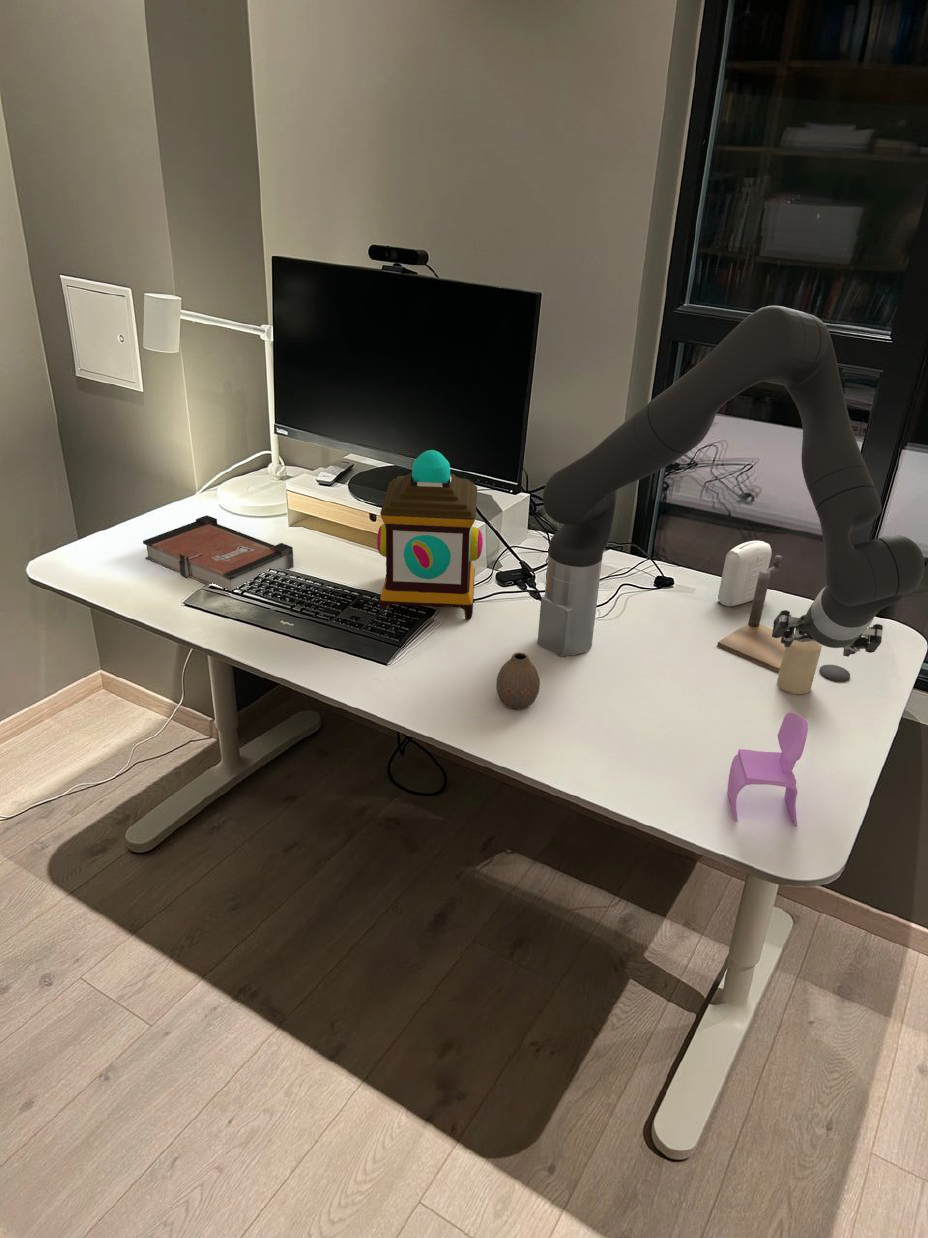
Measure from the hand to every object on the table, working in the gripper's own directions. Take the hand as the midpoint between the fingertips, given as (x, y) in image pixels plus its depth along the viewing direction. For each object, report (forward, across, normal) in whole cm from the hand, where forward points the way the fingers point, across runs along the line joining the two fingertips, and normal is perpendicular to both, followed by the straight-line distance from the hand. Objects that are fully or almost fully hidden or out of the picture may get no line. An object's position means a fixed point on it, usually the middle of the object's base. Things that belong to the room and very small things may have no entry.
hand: (816, 645), depth 136 cm
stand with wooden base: (+27, +4, -7) cm, 28 cm away
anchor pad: (+22, -7, -2) cm, 23 cm away
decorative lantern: (+25, +68, -5) cm, 73 cm away
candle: (+18, 0, +2) cm, 18 cm away
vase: (+4, +44, +16) cm, 47 cm away
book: (+26, +114, -5) cm, 117 cm away
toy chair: (-7, +6, +27) cm, 28 cm away
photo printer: (+39, +9, -19) cm, 45 cm away
